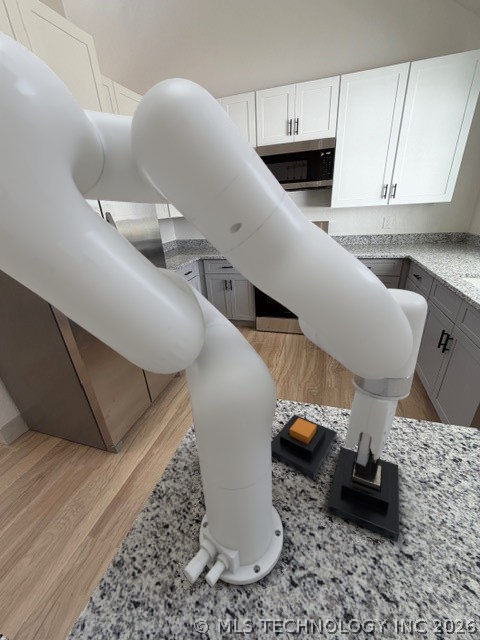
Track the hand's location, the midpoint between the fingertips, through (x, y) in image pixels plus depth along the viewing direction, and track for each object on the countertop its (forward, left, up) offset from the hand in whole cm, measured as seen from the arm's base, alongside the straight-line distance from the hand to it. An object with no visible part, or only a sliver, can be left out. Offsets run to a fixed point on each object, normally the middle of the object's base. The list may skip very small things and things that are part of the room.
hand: (365, 471), depth 45 cm
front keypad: (0, 0, -5) cm, 5 cm away
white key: (0, 0, -2) cm, 2 cm away
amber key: (+3, +13, -2) cm, 13 cm away
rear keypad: (+3, +13, -5) cm, 14 cm away
